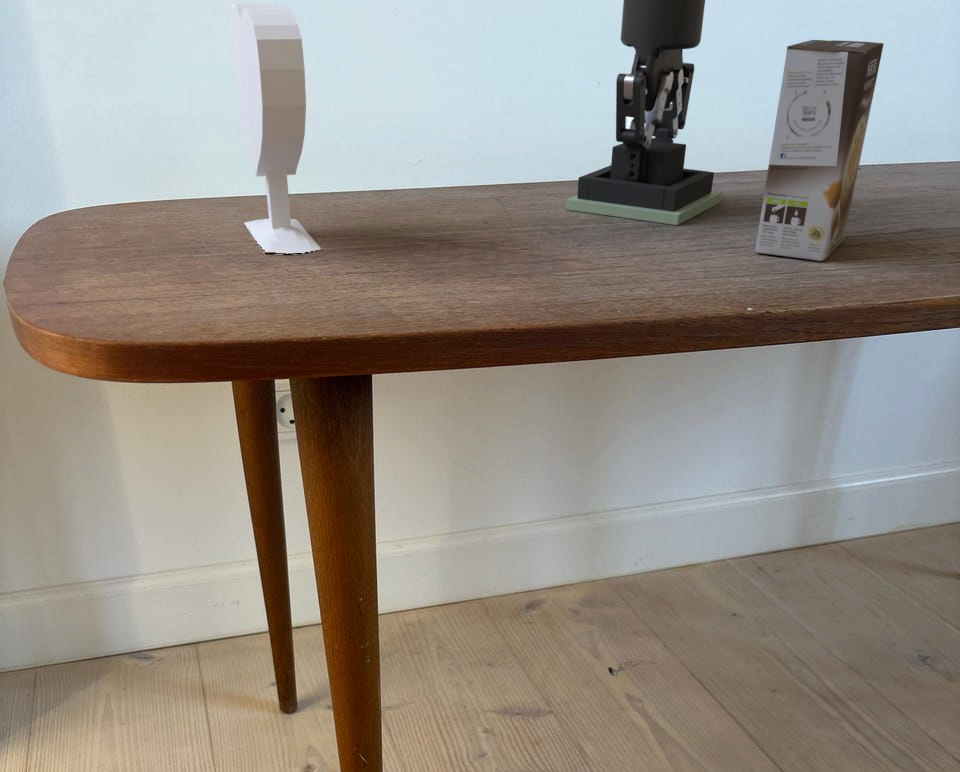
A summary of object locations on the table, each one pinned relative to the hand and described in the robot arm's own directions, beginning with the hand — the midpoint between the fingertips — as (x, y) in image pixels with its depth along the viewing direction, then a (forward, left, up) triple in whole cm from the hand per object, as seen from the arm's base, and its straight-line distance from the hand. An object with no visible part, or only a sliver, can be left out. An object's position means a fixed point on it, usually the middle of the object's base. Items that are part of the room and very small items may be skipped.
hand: (646, 182), depth 107 cm
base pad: (0, 0, -2) cm, 2 cm away
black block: (0, 0, -1) cm, 1 cm away
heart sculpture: (+23, +30, -2) cm, 38 cm away
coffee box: (-18, +7, -2) cm, 20 cm away
